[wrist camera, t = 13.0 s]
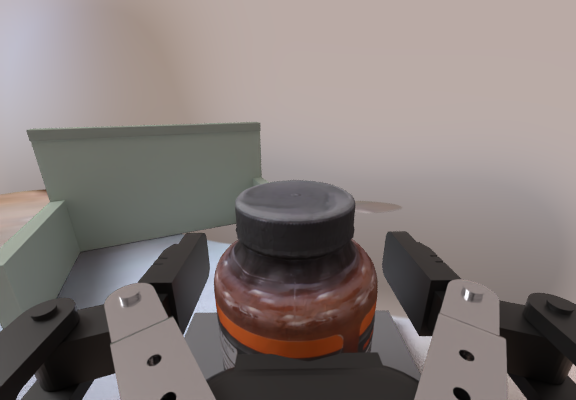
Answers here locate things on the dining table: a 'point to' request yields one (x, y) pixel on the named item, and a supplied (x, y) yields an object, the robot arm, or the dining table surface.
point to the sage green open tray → (123, 196)
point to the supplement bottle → (295, 275)
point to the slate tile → (384, 341)
